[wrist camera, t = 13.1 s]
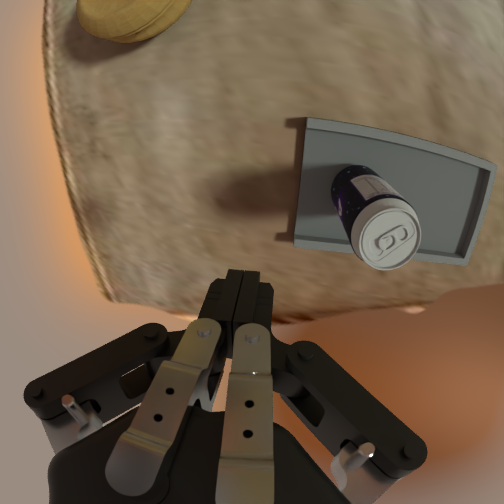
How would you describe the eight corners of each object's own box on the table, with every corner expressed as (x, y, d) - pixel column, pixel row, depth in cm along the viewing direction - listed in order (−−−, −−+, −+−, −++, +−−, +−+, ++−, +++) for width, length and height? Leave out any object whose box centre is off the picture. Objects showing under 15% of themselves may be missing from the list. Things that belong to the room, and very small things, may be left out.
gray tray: (293, 238, 33) (293, 247, 32) (306, 116, 26) (307, 117, 25) (460, 258, 32) (466, 265, 30) (488, 161, 25) (497, 165, 23)
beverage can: (319, 179, 29) (339, 228, 18) (365, 153, 27) (411, 188, 16) (344, 222, 31) (371, 287, 20) (387, 198, 29) (434, 252, 18)
